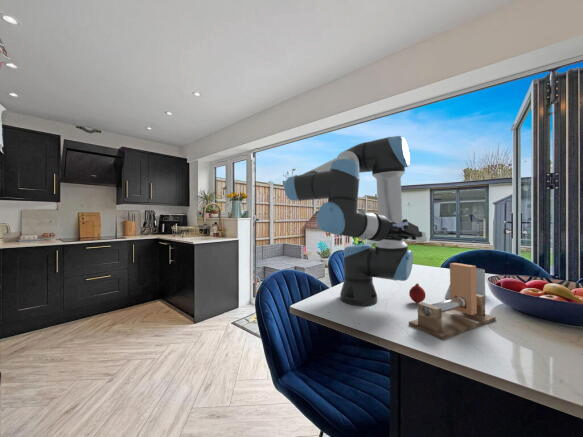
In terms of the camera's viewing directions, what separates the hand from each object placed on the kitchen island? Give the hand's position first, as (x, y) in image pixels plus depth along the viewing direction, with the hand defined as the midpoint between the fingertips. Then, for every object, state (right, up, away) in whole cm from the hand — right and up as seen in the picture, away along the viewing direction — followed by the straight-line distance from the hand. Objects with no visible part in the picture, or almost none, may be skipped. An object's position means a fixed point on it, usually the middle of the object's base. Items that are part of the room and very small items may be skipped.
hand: (423, 237), depth 77 cm
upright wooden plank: (+16, -25, +5) cm, 30 cm away
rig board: (+11, -28, +2) cm, 30 cm away
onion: (+8, -28, +20) cm, 36 cm away
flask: (+26, -28, +25) cm, 46 cm away
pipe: (+11, -24, +2) cm, 26 cm away
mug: (+38, -28, +33) cm, 58 cm away
